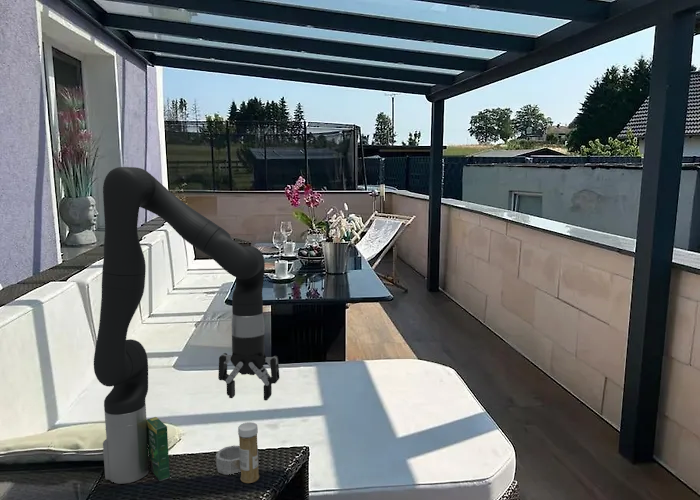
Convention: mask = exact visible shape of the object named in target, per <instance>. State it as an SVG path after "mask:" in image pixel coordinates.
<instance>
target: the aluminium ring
mask: <svg viewBox="0 0 700 500" xmlns="http://www.w3.org/2000/svg"><path fill="white" fill-rule="evenodd" d="M239 446H240V445H229V446H224V447H222V448H221V449H218V451H217V453H216V454H215V461H216V462H215V464H216V471H217V472H218V473H220V474H222V475H227V476H228V475H229V474H230V475H229V476H232V475H231V474H233V475H235V474H234V473H238V472H241V468H240V451H239ZM238 474H239V473H238Z"/></svg>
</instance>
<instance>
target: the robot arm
mask: <svg viewBox="0 0 700 500" xmlns="http://www.w3.org/2000/svg"><path fill="white" fill-rule="evenodd" d="M102 201H103V212H104V213H103V214H104V238H103V239H104V240H103V263H102V272H101V273H102V274H101V298H100V299H101V301H100V313H99V325H98V330H97V331H98V332H97V337H96V342H95V349H94V355H93V370H94V371H93V372H94V375H95V377H96V379H97V380H98V381H99V384H101V385H103V386H105V387H113V388H112V389H111V390H110V392H109V393H108V394H107V395H106V397H104V398H105V399H104V400H103V409H104V423H105V438H106V439H105V440H103V442H102V452H103V453H102V454H103V464H104V467H103V468H104V479H105V480H109V481H110V482H112V483H113V482H114V484H119V485H121V484H130V483H133V482H137V481H139V480H141V479H143V478H144V477H146V476H147V475H148V474H149V472H150V466H149V451H148V436H147V407H146V397H147V395H148V391H149V359H148V355H147V351H146V349H145V347H144V345H143V344H142V343H141V342H139V341H138V340H136V339H127V337H128V335H127V334H128V330H129V326H130V324H131V322H132V319H133V317H134V315H135V313H136V311H137V309H138V307H139V305H140V303H141V301H142V298H143V296H144V292H145V286H146V285H145V284H146V272H147V271H146V269H147V268H146V267H147V266H146V261H145V259H146V258H145V256H144V252H143V249H142V245H141V243H140V239H139V238H140V237H139V234H138V222H139V213H140V208H142V209H144V210H146V211H148V212H150V213H152V214H155V215H156V216H158V217H160V218H161V219H162V220H164V221H165V222H166V223H167V224H168V225H170V227H171V228H173V230H174V231H175V232H176V233H177V234H178V235H179V236H180V237H181V238H182V239H183V240H184V241H186V242H187V243H188V244H190V245H191V246H192V247H194V248H196V249H197V250H199V251H201V252H202V253H203V254H205V255H207V256H208V257H210V258H211V259H213V261H215V263H217V265H218V266H219V267H221V268H222V269H223V270H224V271H225V272H227V273H228V274H230V276H232V277H235V287H234V290H233V291H232V292H233V293H232V296H231V304H232V306H231V309H232V315H231V316H232V318H231V352H232V353H231V355H229V354H228V353H226V352H224V353H222V354H221V355H220V356H219V357H218V380H219V381H223V382H225V385H226V395H227V396H228V399H233V398H234V397H235V396H236V381H235V380H234V379H235V378H236V377H237V376H238V374H241V375H242V376H245V375H249V376H255V375H256V376H257V378H258V379H259V380H261V382H262V383H263V401H268V400H269V399H270V398H271V397H272V391H273V390H272V384H276V383H277V382H278V381H279V380H280V367H279V356H277V355H273V356H266V353H265V352H266V351H265V331H266V328H265V327H266V326H265V319H264V299H263V288H264V280H265V279H264V278H265V270H266V269H265V267H266V266H265V265H266V264H265V262H266V261H265V258H264V254H263V252H262V251H261V250H260V249H259V248H258V247H255V246H252V245H247V246H243V245H241V244H240V243H238V242H237V241H236V240H235V239H233V238H231V235H230V233H229V232H228V231H226V230H225V229H224V228H222V227H221V226H220V225H218V224H216V223H215V222H213V221H212V220H210V219H209V218H207V217H205V216H204V215H202V214H201V213H199V212H198V211H196V210H195V209H193V208H192V207H190V206H189V205H188V204H186V203H185V202H184V201H182V200H181V199H180V198H178V197H177V196H176V195H175V194H174V193H172V192H171V191H170V190H168V189H167V187H165V186H164V185H163V184H162V183H161V182H160V181H158V179H157V178H155V176H153V175H152V174H151V173H150V172H149V171H147V170H146V169H144V168H141V167H135V166H134V167H133V166H118V167H115V168H113V169H111V170H110V171H109V172H108V173H107V174H106V176H105V178H104V181H103V186H102ZM229 363H232V365H233V366H234V368H233V369H232V371H231V372H230V373H228V364H229ZM266 363H267V364H268V365H267V366H268V367H270V374H271V375H270V374H269V372H268V370H267V368H266V366H264V365H265V364H266Z"/></svg>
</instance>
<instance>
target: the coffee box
mask: <svg viewBox="0 0 700 500" xmlns="http://www.w3.org/2000/svg"><path fill="white" fill-rule="evenodd" d="M146 419H147V418H146ZM147 436H148V453H149V470H150V471H151V472H152V474H153V475H154V476H155V478H156V479H157V480H158V481H159V482H162V481H165V480H167V479H169V478H170V477H171V475H170V473H171V472H170V457H169V455H170V454H169V439H168V438H169V437H168V426H167V425H166V424H165V423H164V422H163V421H161V419H159V418H158V417H157V416H154V417H151V418H148V419H147Z"/></svg>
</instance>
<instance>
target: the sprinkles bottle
mask: <svg viewBox="0 0 700 500" xmlns="http://www.w3.org/2000/svg"><path fill="white" fill-rule="evenodd" d="M237 427H238V428H237V433H238V439H239V440H238V442H239V445H238V446H239V451H240V468H241V473H240V482H242V483H244V484H251V483H253V484H254V483H255V482H257V481H258V480H259V479H260V474H259V449H258V448H259V447H258V424H257V423H255V422H250V421H249V422H244V423H241V424H240V425H239V426H237Z"/></svg>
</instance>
